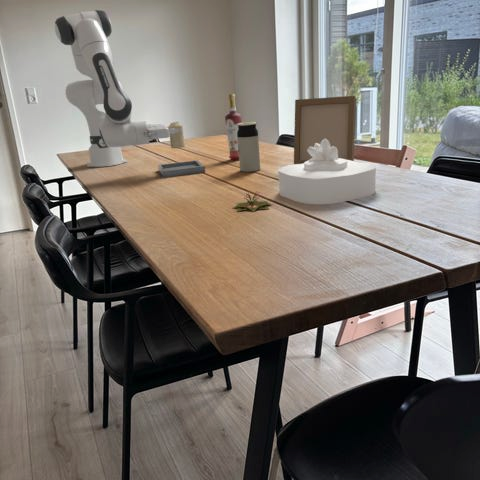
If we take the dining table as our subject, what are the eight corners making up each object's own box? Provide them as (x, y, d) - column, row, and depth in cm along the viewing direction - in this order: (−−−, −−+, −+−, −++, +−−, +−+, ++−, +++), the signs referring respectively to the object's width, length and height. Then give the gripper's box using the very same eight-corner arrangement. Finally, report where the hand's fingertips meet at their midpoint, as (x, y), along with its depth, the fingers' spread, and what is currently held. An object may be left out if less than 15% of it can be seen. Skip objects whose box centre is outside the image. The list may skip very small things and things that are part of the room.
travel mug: (262, 168, 184) (259, 121, 178) (257, 172, 176) (253, 123, 171) (243, 168, 186) (240, 122, 180) (237, 172, 179) (233, 124, 173)
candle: (182, 148, 184) (179, 122, 181) (169, 148, 186) (166, 123, 182) (186, 146, 189) (183, 121, 186) (173, 146, 191) (170, 121, 187)
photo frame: (351, 168, 168) (351, 96, 161) (293, 168, 177) (291, 100, 169) (358, 161, 181) (358, 94, 174) (303, 162, 190) (301, 98, 182)
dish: (158, 170, 197) (157, 164, 196) (198, 165, 200) (197, 160, 200) (162, 177, 181) (161, 171, 180) (205, 172, 185) (204, 166, 184)
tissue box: (314, 208, 124) (313, 147, 118) (269, 192, 145) (266, 140, 140) (387, 192, 133) (389, 135, 128) (335, 179, 155) (334, 130, 150)
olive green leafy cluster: (231, 204, 136) (230, 189, 134) (272, 201, 135) (271, 186, 134) (230, 216, 124) (229, 199, 123) (275, 212, 124) (274, 195, 123)
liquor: (248, 158, 209) (243, 93, 200) (239, 161, 204) (234, 94, 195) (234, 157, 213) (229, 94, 204) (225, 160, 208) (219, 95, 198)
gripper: (143, 126, 172) (180, 123, 175) (140, 123, 191) (174, 119, 194) (146, 144, 174) (182, 140, 177) (142, 138, 193) (175, 135, 196)
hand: (178, 129), depth 185 cm, fingers closed on candle, 5 cm apart
